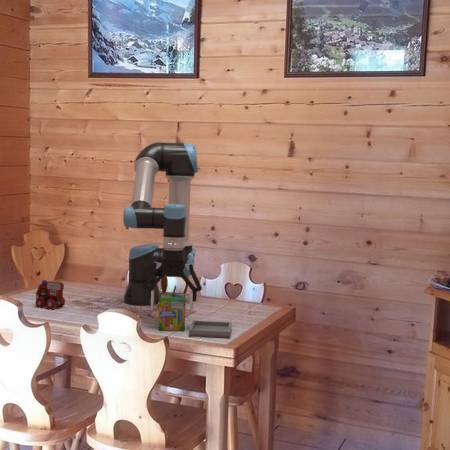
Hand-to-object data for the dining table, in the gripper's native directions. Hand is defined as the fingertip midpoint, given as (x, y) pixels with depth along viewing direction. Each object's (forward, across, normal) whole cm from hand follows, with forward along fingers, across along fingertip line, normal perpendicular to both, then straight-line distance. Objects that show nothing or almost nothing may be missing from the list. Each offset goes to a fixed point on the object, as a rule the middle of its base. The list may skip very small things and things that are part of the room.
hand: (171, 309), depth 237 cm
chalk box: (+7, 0, 0) cm, 7 cm away
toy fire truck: (+6, -50, +23) cm, 56 cm away
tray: (+6, +14, -4) cm, 16 cm away
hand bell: (+6, -5, +16) cm, 18 cm away
